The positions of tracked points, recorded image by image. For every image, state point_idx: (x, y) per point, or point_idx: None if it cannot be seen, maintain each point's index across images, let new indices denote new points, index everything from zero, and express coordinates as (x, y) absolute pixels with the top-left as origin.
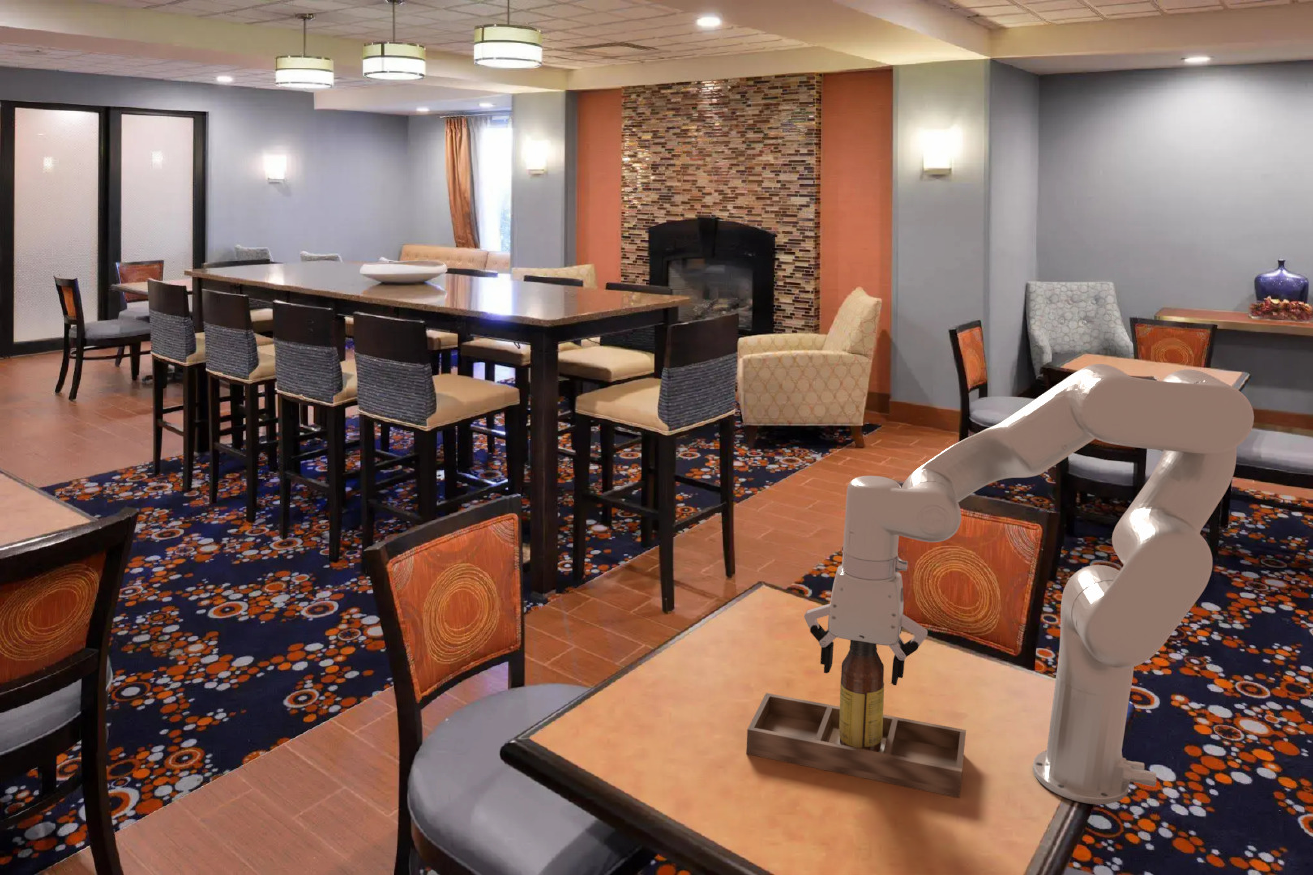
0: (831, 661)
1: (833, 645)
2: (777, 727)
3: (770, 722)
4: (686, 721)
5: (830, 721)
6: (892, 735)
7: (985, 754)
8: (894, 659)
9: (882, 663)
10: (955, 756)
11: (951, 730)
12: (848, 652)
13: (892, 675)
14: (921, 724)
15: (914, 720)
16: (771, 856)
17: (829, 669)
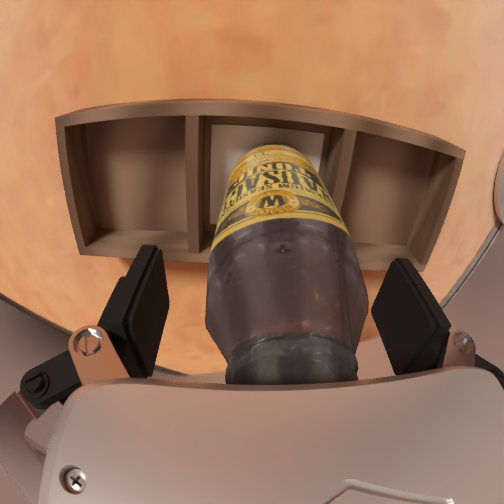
0: (158, 285)
1: (137, 307)
2: (110, 159)
3: (95, 147)
4: (10, 183)
5: (202, 127)
6: (340, 197)
7: (463, 134)
8: (402, 373)
9: (365, 315)
10: (428, 167)
11: (445, 153)
12: (223, 351)
13: (380, 333)
14: (401, 140)
15: (390, 127)
16: (198, 368)
17: (166, 303)
